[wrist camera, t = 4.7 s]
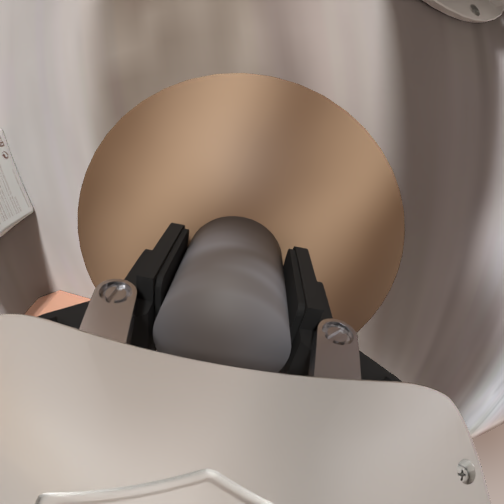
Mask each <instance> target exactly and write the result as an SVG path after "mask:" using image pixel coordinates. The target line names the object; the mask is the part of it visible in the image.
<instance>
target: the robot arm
mask: <svg viewBox="0 0 504 504" xmlns="http://www.w3.org/2000/svg"><path fill="white" fill-rule="evenodd" d="M422 1H424V2H426V3H427V4H429V5H430V6H432V7H433V8H435V9H437V10H439V11H441V12H443V13H445V14H447V15H448V16H451V17H454V18H456V19H459V20H462V21H467V22H472V23H480V22H487V21H490V20H495V19H496V18H497V17H499V16H500V15H501V14H502V12H503V11H504V0H422ZM188 238H189V229H185V225H182V224H177V223H171V224H170V225H169V226H168V228H167V229H166V231H165V232H164V234H163V235H162V237H161V238H160V240H159V241H158V243H157V244H156V246H155V247H154V249H153V250H149V249H145V250H144V251H143V253H142V254H141V255H140V257H139V258H138V260H137V261H136V263H135V264H134V266H133V267H132V268H131V270H130V271H129V273H128V274H127V276H126V277H125V279H124V280H123V279H109V280H106V281H103V282H101V283H100V284H99V285H98V286H97V287H96V288H95V290H94V293H93V295H92V297H91V300H90V301H87V302H83V303H80V304H76V305H73V306H69V307H66V308H62V309H59V310H55V311H52V312H48V313H45V314H42V315H40V316H38V317H35V316H30V315H23V314H0V504H491V502H490V498H489V494H488V490H487V485H486V481H485V478H484V474H483V471H482V467H481V464H480V460H479V457H478V454H477V451H476V448H475V446H474V444H473V441H472V438H471V435H470V433H469V430H468V428H467V426H466V424H465V422H464V420H463V418H462V416H461V414H460V412H459V410H458V408H457V407H456V405H455V404H454V403H453V401H452V400H451V399H450V398H449V397H448V396H446V395H445V394H443V393H441V392H439V391H437V390H434V389H432V388H429V387H426V386H422V385H417V384H413V383H406V382H401V381H400V380H399V379H398V378H397V377H396V376H394V375H393V374H391V373H390V372H389V371H387V370H386V369H384V368H383V367H382V366H380V365H379V364H377V363H376V362H375V361H373V360H372V359H370V358H369V357H368V356H366V355H365V354H363V353H362V352H361V351H359V344H358V336H357V333H356V332H355V330H354V329H353V328H352V327H351V326H350V325H349V324H347V323H345V322H344V321H341V320H338V319H333V317H332V313H331V310H330V306H329V303H328V299H327V296H326V292H325V289H324V286H323V283H322V282H317V280H316V276H315V272H314V269H313V265H312V262H311V258H310V255H309V251H308V249H306V248H301V247H296V246H294V248H293V249H288V251H287V255H286V258H285V262H284V265H283V269H284V278H285V288H286V297H287V307H288V317H289V327H290V337H291V352H290V355H289V358H288V360H287V362H286V364H285V365H284V366H283V368H282V369H281V370H280V371H279V372H278V373H276V372H268V371H260V370H253V369H247V368H240V367H234V366H228V365H222V364H216V363H211V362H205V361H200V360H195V359H190V358H185V357H181V356H176V355H172V354H167V353H163V352H158V351H156V347H155V344H154V340H153V326H154V322H155V320H156V317H157V315H158V313H159V310H160V308H161V306H162V303H163V301H164V299H165V296H166V294H167V292H168V290H169V287H170V285H171V283H172V281H173V278H174V276H175V274H176V272H177V270H178V267H179V265H180V263H181V261H182V259H183V257H184V254H185V252H186V250H187V247H188Z"/></svg>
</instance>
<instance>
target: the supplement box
mask: <svg viewBox="0 0 504 504" xmlns="http://www.w3.org/2000/svg"><path fill="white" fill-rule="evenodd" d="M33 211H34V210H33V206H32V204H31V202H30V200H29V197H28V195H27V193H26V190H25V188H24V186H23V183H22V181H21V178H20V176H19V173H18V171H17V168H16V166H15V163H14V161H13V158H12V155H11V152H10V149H9V147H8V144H7V141H6V138H5V135H4V132H3V130H2V129H0V237H1V236H3V235H4V234H5V233H6V232H7V231H9V230H10V229H11V228H12V227H14V226H15V225H16V224H17V223H19V222H20V221H21V220H23V219H24V218H25V217H27V216H28V215H30V214H31V213H33Z"/></svg>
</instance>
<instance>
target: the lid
mask: <svg viewBox="0 0 504 504" xmlns="http://www.w3.org/2000/svg"><path fill="white" fill-rule="evenodd" d="M171 223H177V224H182V225H185V229H189V238H188V247H187V250H186V252H185V254H184V257H183V259H182V261H181V263H180V265H179V267H178V270H177V272H176V274H175V276H174V278H173V281H172V283H171V285H170V287H169V290H168V292H167V294H166V296H165V299H164V301H163V303H162V306H161V308H160V310H159V313H158V315H157V317H156V320H155V322H154V326H153V340H154V344H155V347H156V349H157V351H158V352H163V353H167V354H172V355H176V356H181V357H185V358H190V359H195V360H200V361H205V362H211V363H216V364H222V365H228V366H234V367H240V368H247V369H253V370H260V371H268V372H276V373H278V372H279V371H280V370H281V369H282V368H283V366H284V365H285V364H286V362H287V360H288V358H289V355H290V352H291V337H290V327H289V317H288V307H287V297H286V288H285V278H284V269H283V265H284V262H285V258H286V255H287V251H288V249H293V248H294V246H296V247H301V248H306V249H308V251H309V255H310V258H311V262H312V265H313V269H314V272H315V276H316V280H317V282H322V283H323V286H324V289H325V292H326V296H327V299H328V303H329V306H330V310H331V313H332V317H333V319H338V320H341V321H344V322H345V323H347V324H349V325H350V326H351V327H352V328H353V329H354V330H355V332H356V333H357V332H358V331H359V330H360V329H361V328H362V327H363V326H364V325H365V324H366V323H367V322H368V321H369V320H370V319H371V318H372V316H373V315H374V314H375V312H376V311H377V310H378V308H379V307H380V306H381V304H382V303H383V301H384V299H385V298H386V296H387V294H388V292H389V291H390V289H391V287H392V284H393V282H394V279H395V277H396V274H397V272H398V269H399V265H400V261H401V257H402V253H403V245H404V235H405V224H404V209H403V204H402V199H401V194H400V190H399V187H398V184H397V181H396V179H395V176H394V173H393V170H392V168H391V166H390V165H389V163H388V161H387V159H386V157H385V155H384V154H383V152H382V150H381V148H380V147H379V146H378V144H377V143H376V142H375V140H374V139H373V138H372V137H371V135H370V134H369V133H368V132H367V130H366V129H365V128H364V127H363V126H362V125H361V124H360V123H359V122H358V121H357V120H356V119H354V118H353V117H352V116H351V115H350V114H349V113H348V112H347V111H346V110H344V109H343V108H341V107H340V106H338V105H337V104H335V103H334V102H332V101H331V100H329V99H328V98H326V97H325V96H323V95H321V94H319V93H317V92H315V91H313V90H310V89H308V88H306V87H304V86H302V85H299V84H296V83H293V82H290V81H286V80H283V79H279V78H275V77H271V76H264V75H256V74H247V73H232V74H215V75H209V76H204V77H199V78H194V79H190V80H187V81H184V82H181V83H178V84H176V85H173V86H170V87H168V88H165V89H163V90H161V91H160V92H158V93H156V94H154V95H152V96H151V97H149V98H147V99H145V100H144V101H142V102H141V103H139V104H138V105H137V106H136V107H134V108H133V109H132V110H131V111H129V112H128V113H127V114H126V115H124V116H123V117H122V118H121V119H120V120H119V122H118V123H117V124H116V125H115V126H114V127H113V128H112V129H111V130H110V131H109V133H108V134H107V135H106V137H105V138H104V140H103V141H102V143H101V144H100V146H99V147H98V149H97V150H96V152H95V154H94V156H93V158H92V160H91V162H90V164H89V167H88V169H87V171H86V174H85V177H84V181H83V184H82V188H81V191H80V198H79V206H78V234H79V241H80V248H81V252H82V255H83V259H84V262H85V266H86V268H87V271H88V273H89V275H90V278H91V280H92V282H93V284H94V286H95V288H96V287H97V286H98V285H99V284H100V283H101V282H103V281H106V280H109V279H123V280H124V279H125V277H126V276H127V274H128V273H129V271H130V270H131V268H132V267H133V266H134V264H135V263H136V261H137V260H138V258H139V257H140V255H141V254H142V253H143V251H144V250H145V249H149V250H153V249H154V247H155V246H156V244H157V243H158V241H159V240H160V238H161V237H162V235H163V234H164V232H165V231H166V229H167V228H168V226H169V225H170V224H171Z"/></svg>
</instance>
